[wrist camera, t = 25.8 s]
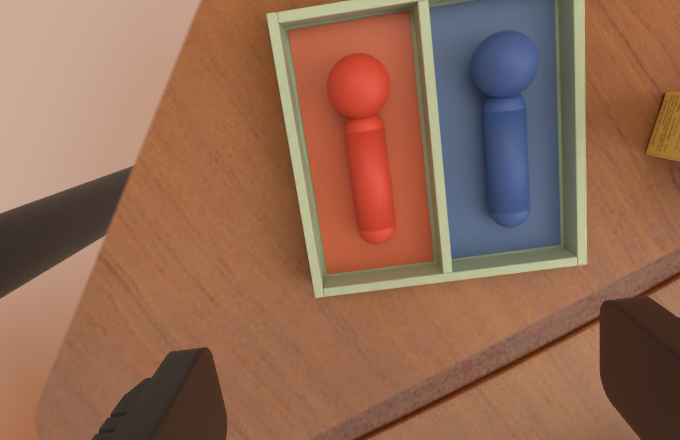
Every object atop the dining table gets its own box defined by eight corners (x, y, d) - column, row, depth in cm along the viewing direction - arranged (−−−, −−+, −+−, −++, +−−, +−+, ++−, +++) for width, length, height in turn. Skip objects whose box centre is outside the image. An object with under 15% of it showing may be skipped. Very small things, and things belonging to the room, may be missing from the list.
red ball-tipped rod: (405, 234, 31) (411, 252, 28) (351, 241, 32) (350, 260, 28) (383, 50, 28) (388, 45, 25) (324, 60, 29) (320, 56, 25)
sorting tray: (317, 283, 33) (315, 298, 31) (272, 19, 29) (265, 13, 26) (569, 251, 32) (587, 264, 30) (564, -28, 28) (584, -38, 25)
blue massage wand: (533, 217, 31) (554, 234, 27) (477, 224, 31) (490, 242, 28) (525, 29, 28) (548, 21, 24) (463, 39, 28) (476, 32, 25)
